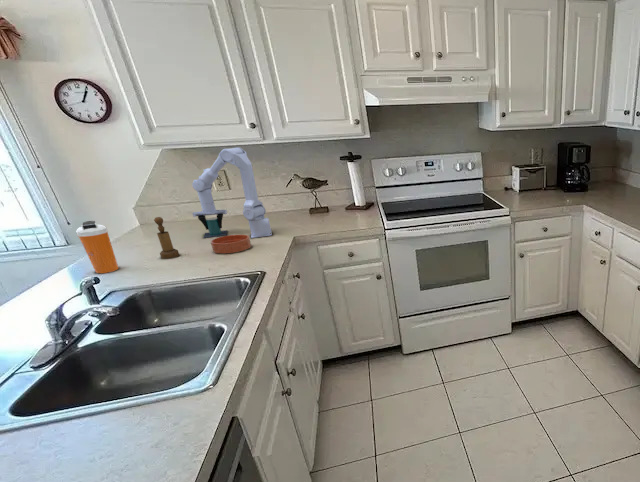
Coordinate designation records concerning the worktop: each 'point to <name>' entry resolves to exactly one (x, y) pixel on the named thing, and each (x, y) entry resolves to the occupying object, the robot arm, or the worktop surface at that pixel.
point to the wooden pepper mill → (165, 241)
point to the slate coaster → (207, 235)
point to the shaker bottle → (97, 246)
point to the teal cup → (213, 226)
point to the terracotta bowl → (231, 243)
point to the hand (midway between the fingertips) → (214, 228)
